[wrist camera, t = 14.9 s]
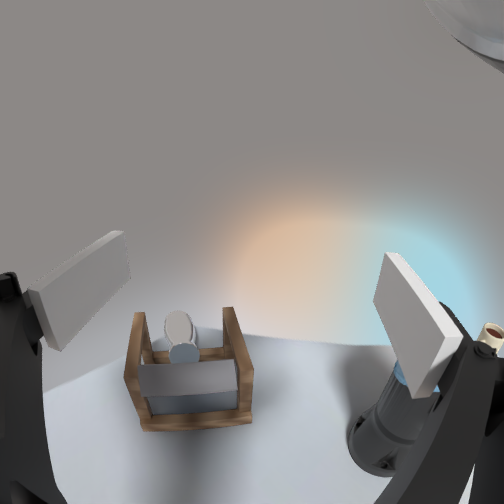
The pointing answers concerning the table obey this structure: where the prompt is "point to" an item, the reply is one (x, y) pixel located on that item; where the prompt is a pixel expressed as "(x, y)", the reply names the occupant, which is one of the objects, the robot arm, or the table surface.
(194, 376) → the trapdoor
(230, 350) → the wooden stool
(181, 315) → the beer glass
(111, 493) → the table surface
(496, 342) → the character mug
